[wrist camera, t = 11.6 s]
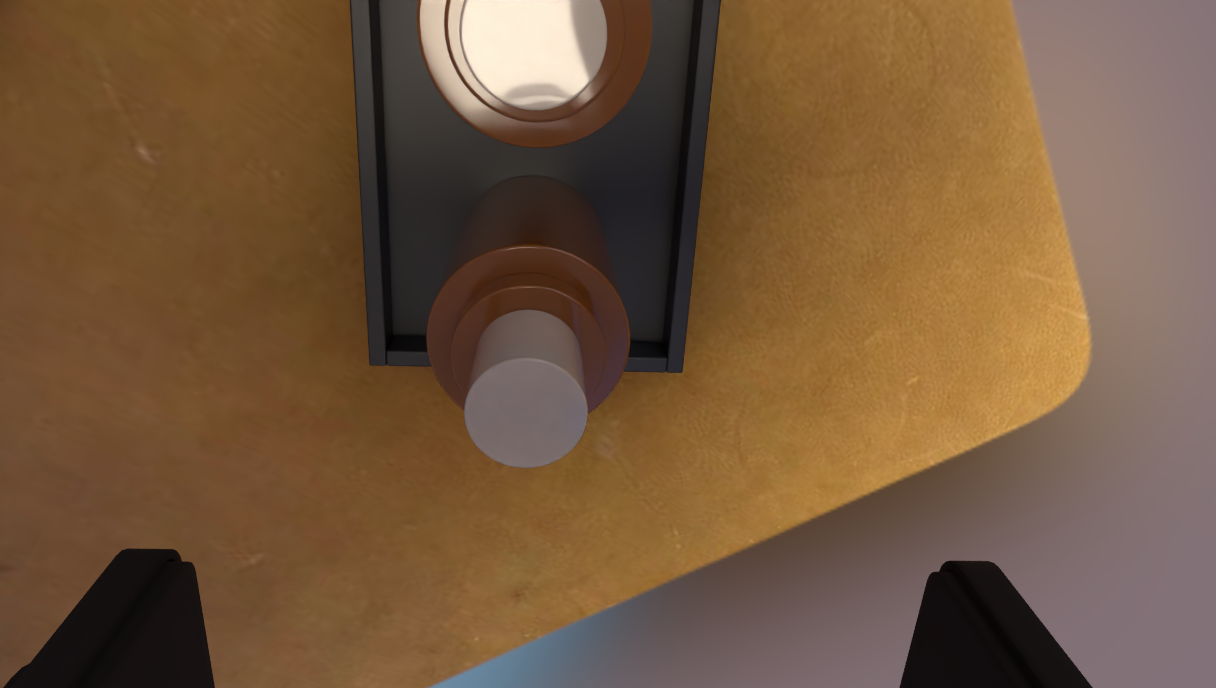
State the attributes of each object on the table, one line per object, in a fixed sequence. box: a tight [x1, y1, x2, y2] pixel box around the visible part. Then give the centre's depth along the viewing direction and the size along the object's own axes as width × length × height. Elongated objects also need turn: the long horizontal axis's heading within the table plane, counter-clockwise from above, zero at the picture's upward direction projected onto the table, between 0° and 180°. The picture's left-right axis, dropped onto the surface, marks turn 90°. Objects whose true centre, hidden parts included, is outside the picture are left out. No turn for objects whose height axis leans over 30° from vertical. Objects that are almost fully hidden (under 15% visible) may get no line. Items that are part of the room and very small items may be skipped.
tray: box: [350, 0, 721, 373], centre depth 26 cm, size 11×23×2 cm, turn 176°
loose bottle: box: [426, 175, 630, 468], centre depth 23 cm, size 5×5×13 cm
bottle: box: [417, 0, 652, 148], centre depth 20 cm, size 5×5×13 cm
